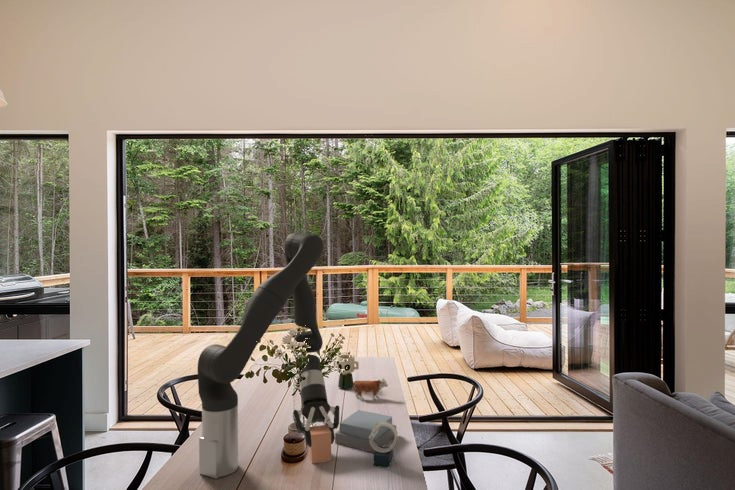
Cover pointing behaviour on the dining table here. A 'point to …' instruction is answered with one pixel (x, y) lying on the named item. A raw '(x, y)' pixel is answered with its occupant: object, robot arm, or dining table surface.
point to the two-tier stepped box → (363, 430)
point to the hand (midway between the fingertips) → (320, 444)
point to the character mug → (346, 371)
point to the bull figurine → (369, 387)
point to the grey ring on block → (382, 453)
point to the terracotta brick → (320, 444)
